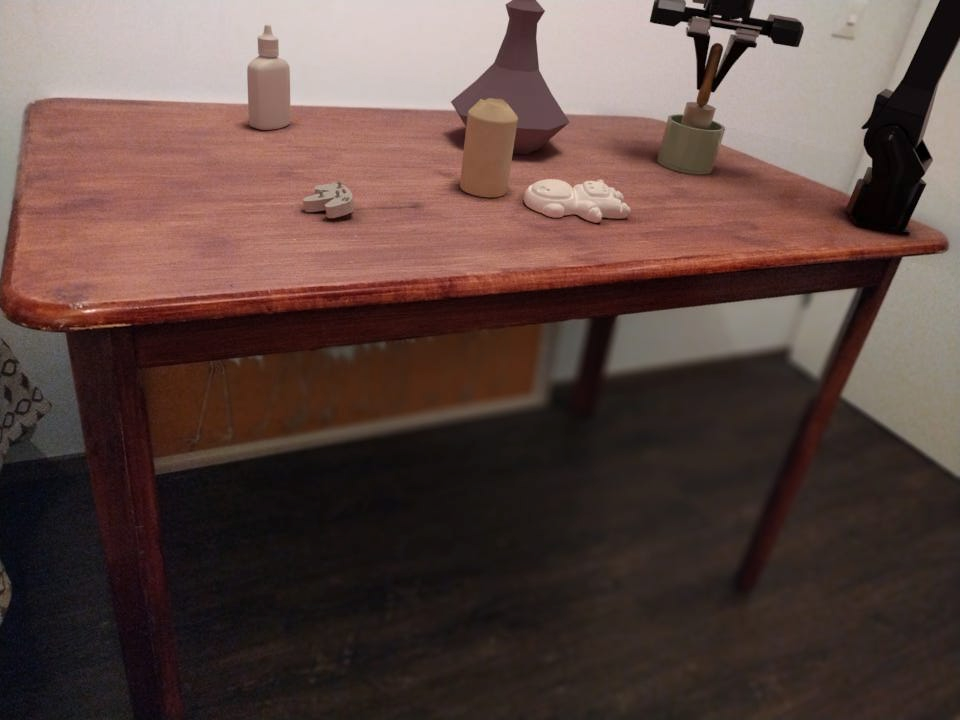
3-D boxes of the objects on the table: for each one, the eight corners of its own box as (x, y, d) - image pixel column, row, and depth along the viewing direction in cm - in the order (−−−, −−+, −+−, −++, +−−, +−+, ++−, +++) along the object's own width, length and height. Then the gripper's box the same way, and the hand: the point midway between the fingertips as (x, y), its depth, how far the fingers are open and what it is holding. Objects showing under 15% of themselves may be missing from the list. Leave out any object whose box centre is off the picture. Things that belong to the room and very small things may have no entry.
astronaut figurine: (632, 228, 81) (638, 202, 79) (523, 214, 80) (528, 187, 78) (621, 200, 88) (627, 176, 86) (522, 187, 87) (526, 162, 86)
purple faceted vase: (559, 171, 95) (592, 0, 84) (435, 149, 96) (451, -23, 85) (567, 138, 108) (595, -13, 98) (458, 119, 109) (474, -32, 99)
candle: (502, 201, 82) (515, 111, 77) (454, 192, 83) (464, 101, 78) (510, 186, 87) (523, 99, 82) (465, 177, 88) (475, 91, 82)
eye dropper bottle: (243, 121, 95) (239, 20, 89) (286, 120, 98) (285, 22, 91) (252, 131, 92) (248, 28, 86) (296, 130, 95) (296, 30, 88)
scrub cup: (710, 162, 107) (722, 121, 104) (713, 178, 101) (727, 134, 97) (657, 152, 108) (667, 111, 105) (656, 167, 101) (668, 123, 98)
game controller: (292, 204, 74) (292, 179, 73) (385, 189, 81) (387, 166, 80) (323, 224, 71) (323, 198, 69) (417, 207, 78) (419, 183, 77)
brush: (706, 134, 103) (732, 43, 97) (708, 141, 100) (735, 47, 94) (678, 129, 104) (702, 38, 98) (678, 136, 101) (703, 42, 94)
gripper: (808, -32, 96) (768, 91, 105) (666, -54, 98) (637, 68, 107) (824, -27, 87) (778, 108, 95) (666, -52, 89) (635, 82, 97)
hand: (705, 90), depth 99 cm, fingers closed on brush, 2 cm apart
